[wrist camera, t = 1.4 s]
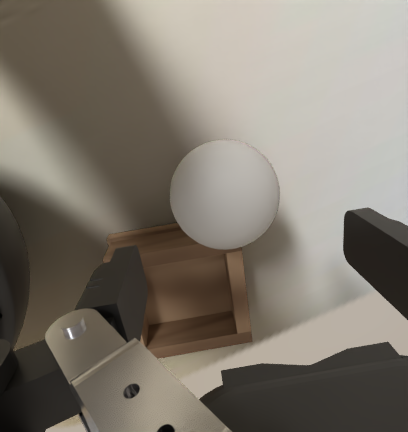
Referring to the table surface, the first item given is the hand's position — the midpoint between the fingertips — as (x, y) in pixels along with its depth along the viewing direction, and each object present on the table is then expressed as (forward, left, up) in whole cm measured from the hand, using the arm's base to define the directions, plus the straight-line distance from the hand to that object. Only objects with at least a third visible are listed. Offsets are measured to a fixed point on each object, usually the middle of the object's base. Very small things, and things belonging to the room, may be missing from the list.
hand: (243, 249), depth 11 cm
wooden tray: (+10, -4, -14) cm, 17 cm away
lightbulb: (0, 0, -14) cm, 14 cm away
